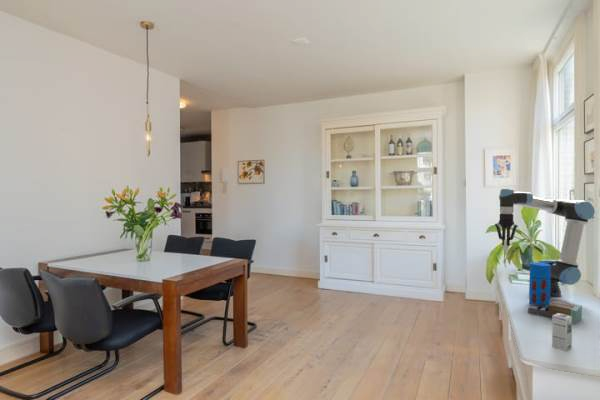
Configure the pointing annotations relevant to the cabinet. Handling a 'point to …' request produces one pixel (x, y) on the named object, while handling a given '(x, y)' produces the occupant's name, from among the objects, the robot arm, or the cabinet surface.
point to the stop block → (576, 313)
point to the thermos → (539, 283)
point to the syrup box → (562, 331)
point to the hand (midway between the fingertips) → (505, 250)
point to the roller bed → (540, 310)
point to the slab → (560, 307)
